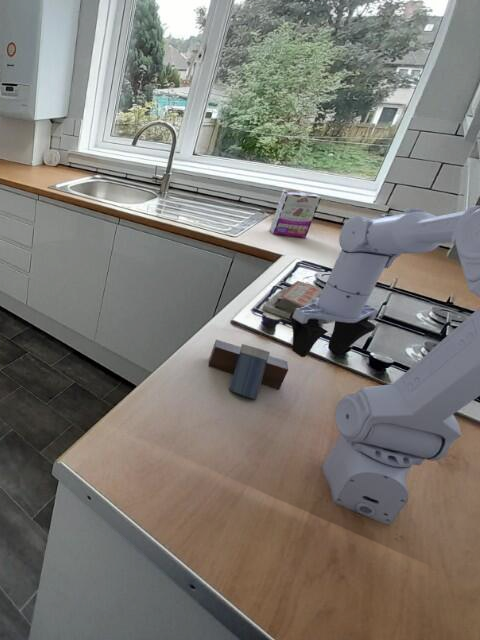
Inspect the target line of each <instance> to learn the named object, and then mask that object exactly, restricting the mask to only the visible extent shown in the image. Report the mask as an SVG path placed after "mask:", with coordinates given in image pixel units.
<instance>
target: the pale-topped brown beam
mask: <svg viewBox="0 0 480 640" xmlns="http://www.w3.org/2000/svg"><path fill="white" fill-rule="evenodd" d="M240 349H241V346H238V345H236V344H232V343H229V342H226V341H223V340H220V339H215V341H214V344H213V346H212V350H211V352H210V355H209V357H208V364H207V365H208V367H209V368H212V369H215V370H218V371H220V372H225V373H228V374H230V375H233V373H234V370H235V366H236V363H237V359H238V356H239V353H240ZM288 372H289V366H288V361H287V360H285V359H281V358H278V357H275V356H271V355H269V357H268V361H267V364H266V368H265V372H264V375H263V379H262V382H261V385H262V386H266V387H269V388H272V389H275V390H278V391H280V389H281V387H282V384H283V383H284V380H285V378H286V376H287V375H288Z"/></svg>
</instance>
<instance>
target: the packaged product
mask: <svg viewBox="0 0 480 640" xmlns="http://www.w3.org/2000/svg"><path fill="white" fill-rule="evenodd" d="M322 291H323V289H322V288H320V286H319V287H318V286H316V285H313V284H310V283H307V282H304V281H300V280H296V281H295V282H294V283H292V285H290V286H284V287H283V288H282V289H281V290H280V291H278V292H277V293H276V294H275V295H273V296H272V297H271V298H270V299H269V300H267V301H266V302H265V303H263V306H262V310H263V311H265V312H267V313H271V314H274V315H277V316H279V317H282V318H285V319H288V320H290V318H289V317H290V315H291V313H292V312H295V310H296V308H302V307H305V306H307V305H310V304H312V303H313V302H312V299H313V298H320V295H321V293H322Z"/></svg>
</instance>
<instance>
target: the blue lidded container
mask: <svg viewBox="0 0 480 640" xmlns="http://www.w3.org/2000/svg"><path fill="white" fill-rule="evenodd" d="M240 347H241V349H240V353H239V356H238V359H237V363H236V366H235V370H234V373H233V374H232V378H231V382H230V384H229V387H228V391H230V392H232V393H236V394H238V395H241V396H243V397H246V398H249V399H253V400H258V396H259V393H260V389H261V385H262V384H261V382H262V379H263V375H264V372H265V368H266V364H267V361H268V357H269V356H270V354H271V352H270V351H268V350H264V349H262V348H258V347H256V346H251V345H248V344H243V343H242V344H241V346H240Z"/></svg>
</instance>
